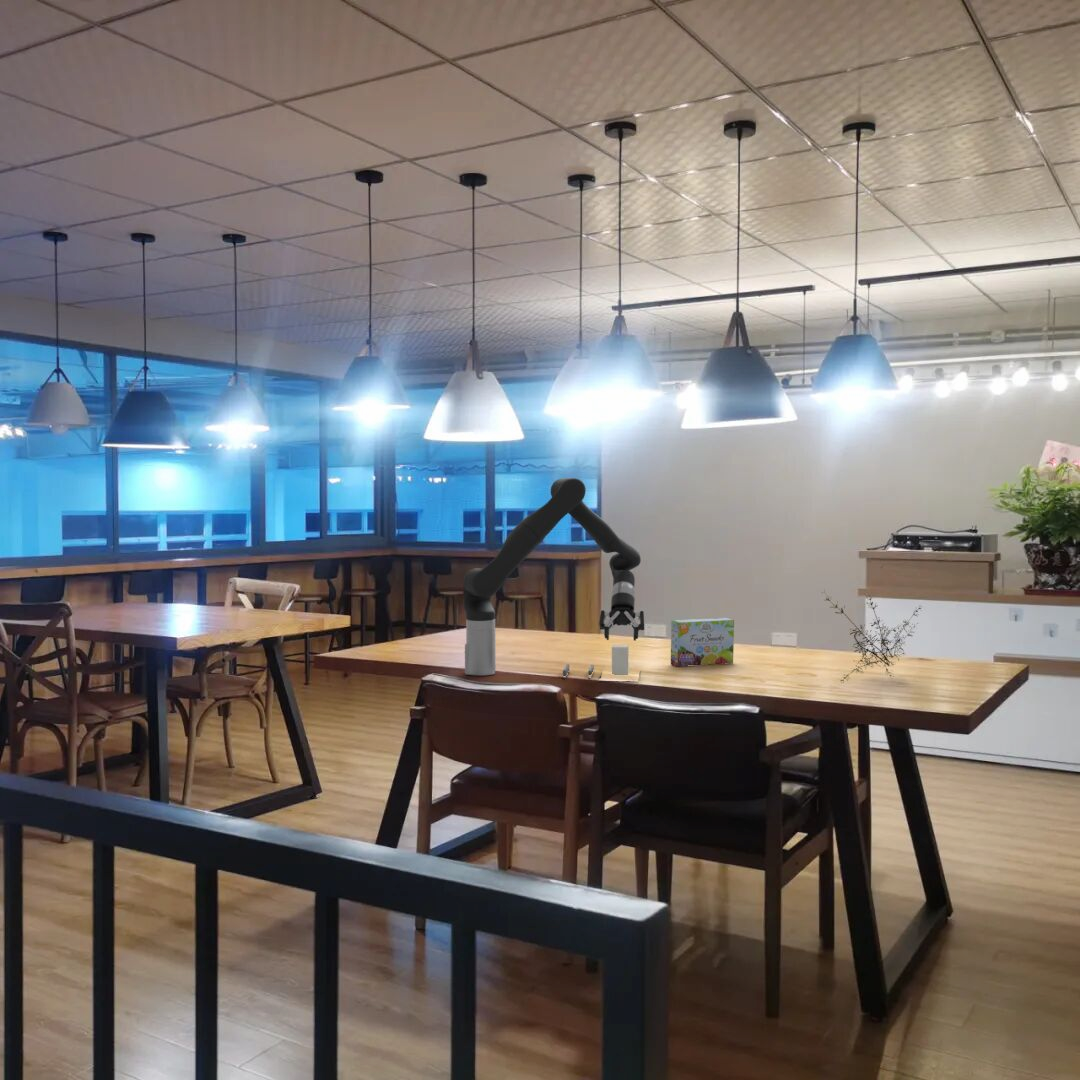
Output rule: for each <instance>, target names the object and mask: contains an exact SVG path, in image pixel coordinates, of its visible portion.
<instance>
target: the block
mask: <svg viewBox="0 0 1080 1080" xmlns="http://www.w3.org/2000/svg"><path fill="white" fill-rule="evenodd" d="M629 649H630V647H629V644H612V645H611V669H612V674H614V675H628V673H629V670H630V669H629V658H630V657H629V656H630V655H629V653H630V652H629Z"/></svg>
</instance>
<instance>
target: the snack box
mask: <svg viewBox="0 0 1080 1080" xmlns="http://www.w3.org/2000/svg"><path fill="white" fill-rule="evenodd" d="M670 626H671V627H670V629H671V631H670V665H671V666H674V665H675V666H674V667H676V666H684V667H689V666H688V665H702V666H709V665H708V664H717V665H726V664H725V663H732V664H734V650H735V649H734V645H735V644H734V641H735V640H734V639H735V637H734V636H735V619H733V618H732V619H731V618H728V617H719V618H715V617H714V618H697V619H696V618H692V619H676V620H675V619H673V620H671V623H670Z"/></svg>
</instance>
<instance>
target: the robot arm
mask: <svg viewBox="0 0 1080 1080" xmlns="http://www.w3.org/2000/svg"><path fill="white" fill-rule="evenodd" d="M550 496H551V497H550V499H549V500H548V501H547V502H546V503H545V504H543V505H542V506H541V507H539V508H538V509H536V510H534V511H533V512H532V513H530V514H529V515H528V516H526V517H524V518H523V519H522V520H521V521H520V522H519V523H518V524H517V525H516V526H514V528H513V529H512V530H511V531H510V532H509V534H508V535H507V537H506V538H505V540H504V543H503V545H502V547H501V548H500V551H499V552H498V554H497V555H496V556H495V557H494V558H493V559H492V560H491V561H490V562H489V563H488V564H487V565H485V566H484V567H483V568H480V567H475V568H471V569H469V570H468V571H467V572H466V574H465V576H464V577H463V578H464V579H463V583H462V584H463V585H462V595H463V596H462V597H463V608H464V612H465V624H466V628H465V634H466V635H465V637H466V643H464V674H465V675H469V676H490V675H491V676H492V675H495V674H496V673H495V671H496V669H497V666H496V665H497V664H496V661H497V659H496V656H497V655H496V610H495V609H494V606H493V605H492V599H491V597H493V596H494V595H496V593H497V592H498V591H499V589H500V588H501V587H502V585H503V584H504V583H505V581H506V580H507V579H508V578H509V576H510V575H511V574H512V572H514V570H515V569H516V568H517V567H519V565H520V564H521V563H522V562H523V561H524V560H525V559H527V557H528V556H529V555H530V554H531V553H532V552H534V551H535V549H536V548H537V547H538V546H539V545H540V544H541V543H542V541H543V540H544V539H545V538H546V537H547V536H548V535H549V534H550V533H551V531H552V530H554V528H555V527H556V526H557V524H559V522H560V521H562V520H563V518H565V516H566V515H568V514H569V515H570V516H571V517H572V518H573V519H574V520H575V521H576V522H577V524H579V525H580V526H581V527H582V528H583V530H584V531H585V532H587V534H588V535H589V536H590V538H592V540H593V541H594V542H595V544H596V545H597V546H598V547H599V548H600V550H601V551H602V552H604V553H605V554H610V553H615V554H612V555H611V557H610V559H609V563H608V564H609V568H610V571H611V574H612V579H613V581H612V582H613V583H612V590H611V599H610V601H611V602H610V611H609V612H608V611H607V612H605V610H601V611H600V615H599V622H598V623H599V624H598V626H599V630H604V632H603V634H604V636H603V637H604V638H605V639H606V641H610V630H611V629H613V628H614V627H615V626H629V627H630V628H631V629H633V641H637V640H638V639H639V631H644V630H645V616H644V615H645V614H644V611H643V610H640V611H639V612H636V611H635V600H636V595H635V594H636V592H635V583H636V582H635V581H636V580H635V579H636V578H635V575H634V573H633V572H632V571H631V570H633V569H635V568H637V567H639V566H640V564H641V561H642V560H641V555H640V552H638V550H637V549H636V548H635V547H634V546H632V545H631V544H629V543H628V542H626V540H624V539H623V538H620V537H619V535H617V533H616V532H615V531H614V529H613V528H612V527H611V526H610V525H609V523H607V522H606V520H604V519H603V518H601V516H599V515H598V514H596V513H595V511H592V509H590V508H589V506H588V505H586V503H585V502H584V501H583V500H584V498H585V496H586V485H585V483H584V482H583V481H582V480H581V479H580V478H576V477H562V478H561V477H560V478H558V479H556V480H555V481H554V482H553V483H552V484H551V486H550ZM608 617H609V619H608V621H607V622H606V623H605V620H607V618H608ZM635 618H637V620H638V621H640V622H639V624H638V623H637V622H636V620H635Z"/></svg>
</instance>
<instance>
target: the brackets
mask: <svg viewBox="0 0 1080 1080" xmlns="http://www.w3.org/2000/svg"><path fill="white" fill-rule="evenodd" d="M593 670H594V671H595V665H594V664H590V667H589V669H588V673H587V674H588V675H591V674H592V672H593ZM568 671H569V672H570V663H567V664H566V665H565V666H564V668H563V669H562V677H563V676H566V675H567V673H568ZM568 674H569V673H568ZM567 676H568V675H567Z"/></svg>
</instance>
